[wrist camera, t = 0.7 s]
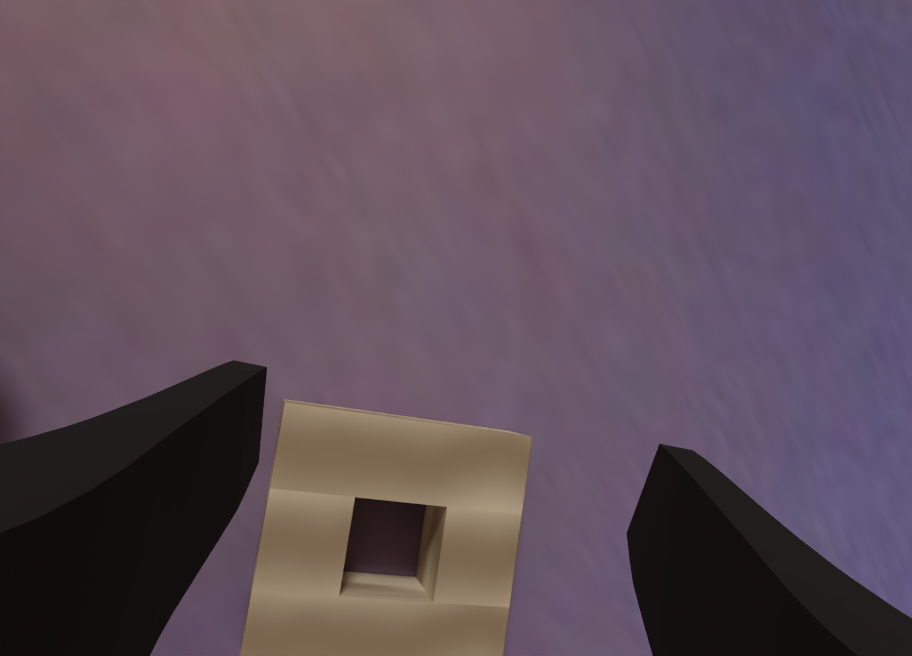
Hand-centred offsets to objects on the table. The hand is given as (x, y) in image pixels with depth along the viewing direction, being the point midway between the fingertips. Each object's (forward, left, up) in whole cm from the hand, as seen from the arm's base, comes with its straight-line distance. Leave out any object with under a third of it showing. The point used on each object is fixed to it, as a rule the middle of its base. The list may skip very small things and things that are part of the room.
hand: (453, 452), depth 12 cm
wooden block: (-6, -3, -23) cm, 24 cm away
